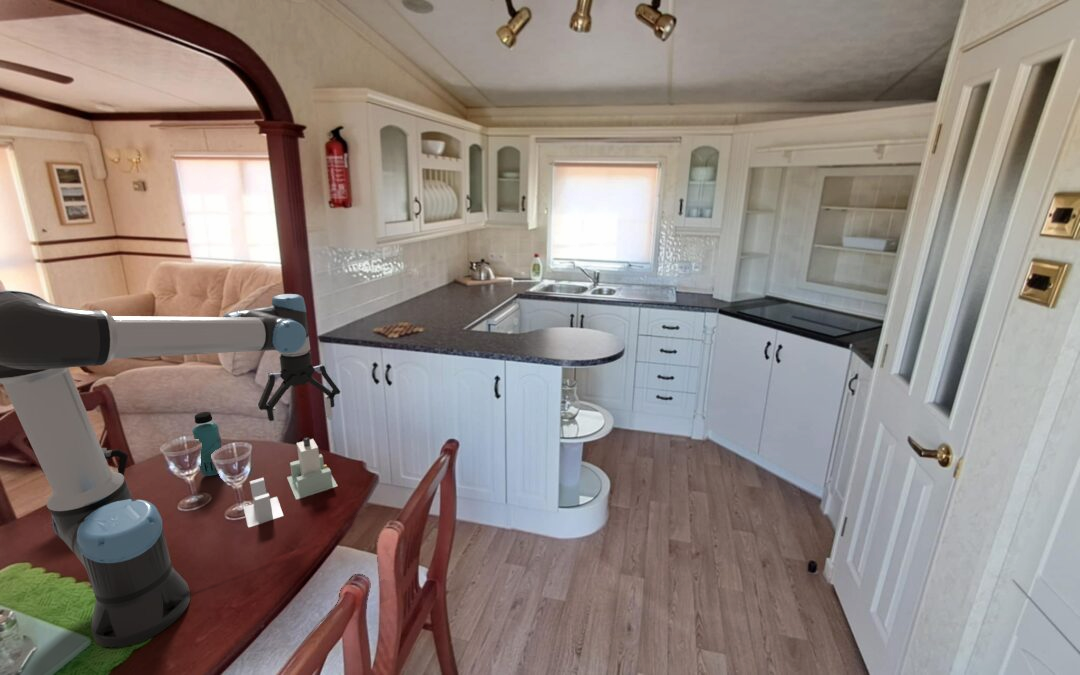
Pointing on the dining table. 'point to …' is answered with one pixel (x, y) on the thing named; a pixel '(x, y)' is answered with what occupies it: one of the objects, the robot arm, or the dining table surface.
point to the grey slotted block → (261, 505)
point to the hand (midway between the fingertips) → (303, 424)
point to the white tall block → (308, 456)
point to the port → (310, 480)
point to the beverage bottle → (207, 441)
